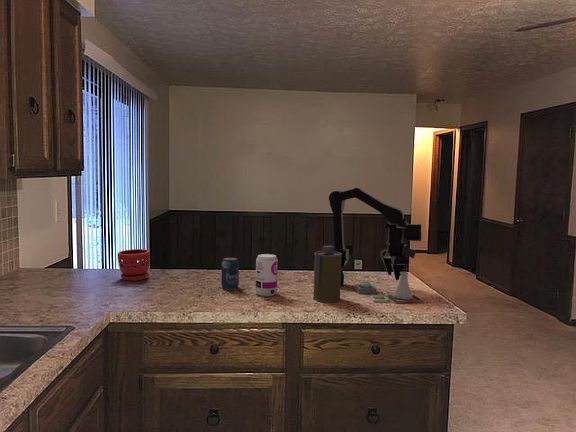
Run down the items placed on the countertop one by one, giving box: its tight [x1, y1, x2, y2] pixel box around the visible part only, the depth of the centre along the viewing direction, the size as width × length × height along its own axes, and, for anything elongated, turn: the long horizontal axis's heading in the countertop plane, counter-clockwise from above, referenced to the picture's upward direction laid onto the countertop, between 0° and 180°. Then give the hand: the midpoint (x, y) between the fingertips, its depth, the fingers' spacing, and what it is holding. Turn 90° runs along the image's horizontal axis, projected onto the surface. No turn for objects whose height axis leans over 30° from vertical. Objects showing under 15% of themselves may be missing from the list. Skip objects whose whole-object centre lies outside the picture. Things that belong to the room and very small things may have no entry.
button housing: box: [354, 283, 377, 295], centre depth 194 cm, size 7×7×2 cm
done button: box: [360, 281, 371, 288], centre depth 194 cm, size 4×4×2 cm
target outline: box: [387, 293, 424, 305], centre depth 182 cm, size 10×10×1 cm
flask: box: [392, 271, 414, 301], centre depth 185 cm, size 7×7×10 cm
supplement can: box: [255, 253, 279, 297], centre depth 186 cm, size 8×8×15 cm
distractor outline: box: [369, 295, 391, 303], centre depth 181 cm, size 6×6×1 cm
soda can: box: [220, 256, 240, 291], centre depth 194 cm, size 7×7×12 cm
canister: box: [312, 244, 342, 304], centre depth 180 cm, size 11×10×20 cm
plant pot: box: [117, 248, 151, 282], centre depth 206 cm, size 13×13×12 cm
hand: (393, 277), depth 197 cm, fingers open, 9 cm apart
